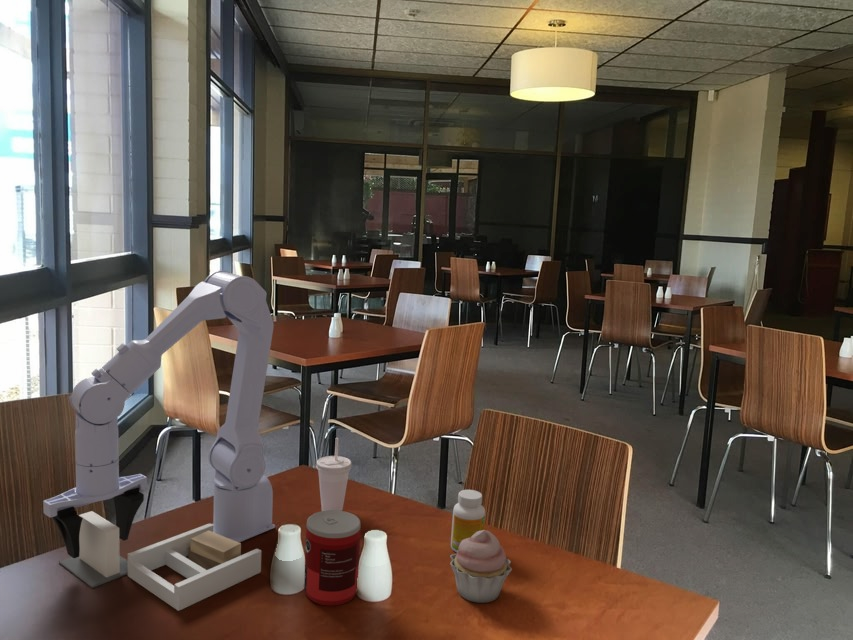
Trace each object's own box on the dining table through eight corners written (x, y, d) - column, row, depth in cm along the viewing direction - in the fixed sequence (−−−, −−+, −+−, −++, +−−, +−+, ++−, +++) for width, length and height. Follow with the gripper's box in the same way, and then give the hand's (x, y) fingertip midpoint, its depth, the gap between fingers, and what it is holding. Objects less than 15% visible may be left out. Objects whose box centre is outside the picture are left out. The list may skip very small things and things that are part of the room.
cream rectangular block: (92, 553, 105) (92, 511, 104) (119, 572, 101) (119, 527, 100) (79, 558, 104) (78, 515, 103) (106, 577, 99) (105, 532, 98)
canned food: (326, 572, 105) (328, 504, 103) (368, 589, 101) (371, 519, 99) (292, 594, 98) (294, 522, 97) (335, 613, 94) (339, 539, 93)
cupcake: (455, 612, 96) (460, 546, 95) (441, 577, 106) (445, 516, 104) (518, 608, 98) (524, 543, 97) (499, 574, 107) (504, 514, 106)
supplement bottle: (485, 556, 113) (490, 500, 111) (453, 556, 112) (457, 501, 111) (478, 540, 118) (482, 487, 117) (447, 541, 117) (451, 487, 116)
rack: (209, 543, 111) (209, 523, 111) (260, 572, 104) (261, 550, 103) (127, 576, 100) (127, 553, 100) (178, 611, 93) (178, 587, 92)
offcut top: (208, 542, 108) (208, 530, 107) (240, 555, 104) (240, 543, 104) (190, 550, 105) (190, 538, 104) (223, 564, 101) (223, 552, 101)
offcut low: (207, 554, 109) (208, 539, 108) (242, 574, 103) (243, 559, 103) (188, 562, 106) (188, 546, 106) (223, 583, 101) (223, 568, 100)
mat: (104, 546, 108) (104, 545, 108) (138, 569, 102) (138, 567, 102) (59, 563, 103) (59, 561, 103) (92, 588, 97) (92, 586, 97)
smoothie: (356, 510, 127) (359, 438, 125) (334, 522, 122) (337, 447, 119) (329, 501, 130) (332, 431, 128) (307, 512, 125) (309, 439, 123)
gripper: (129, 441, 108) (130, 522, 110) (32, 464, 97) (35, 554, 99) (154, 453, 104) (154, 536, 106) (55, 478, 92) (57, 572, 94)
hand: (98, 546), depth 102 cm, fingers open, 7 cm apart
